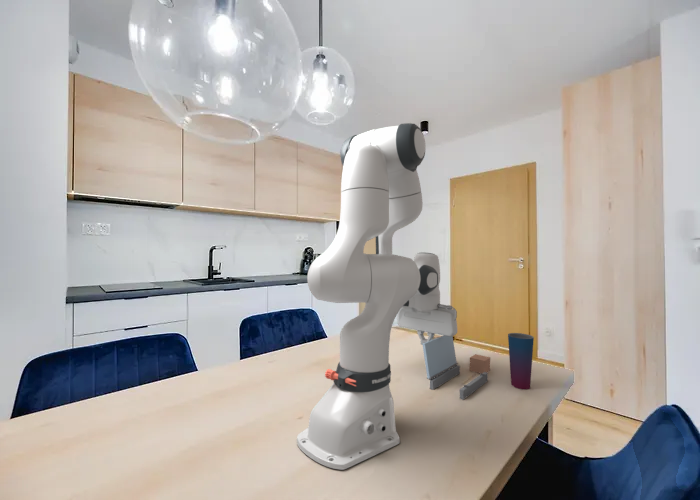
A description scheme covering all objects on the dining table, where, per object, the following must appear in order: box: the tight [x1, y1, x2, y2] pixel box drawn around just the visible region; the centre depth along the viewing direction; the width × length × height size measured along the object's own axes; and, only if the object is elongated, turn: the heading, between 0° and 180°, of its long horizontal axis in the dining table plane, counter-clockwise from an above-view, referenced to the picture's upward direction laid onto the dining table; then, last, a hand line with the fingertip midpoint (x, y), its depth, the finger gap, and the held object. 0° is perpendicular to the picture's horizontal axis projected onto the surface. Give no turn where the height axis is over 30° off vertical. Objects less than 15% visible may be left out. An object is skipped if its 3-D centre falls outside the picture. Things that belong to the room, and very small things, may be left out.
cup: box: [507, 332, 535, 390], centre depth 95 cm, size 7×7×15 cm
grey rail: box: [429, 364, 489, 401], centre depth 95 cm, size 18×10×3 cm, turn 137°
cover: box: [422, 335, 459, 381], centre depth 100 cm, size 18×10×2 cm
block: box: [469, 353, 491, 374], centre depth 108 cm, size 5×5×4 cm
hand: (425, 345), depth 103 cm, fingers closed
